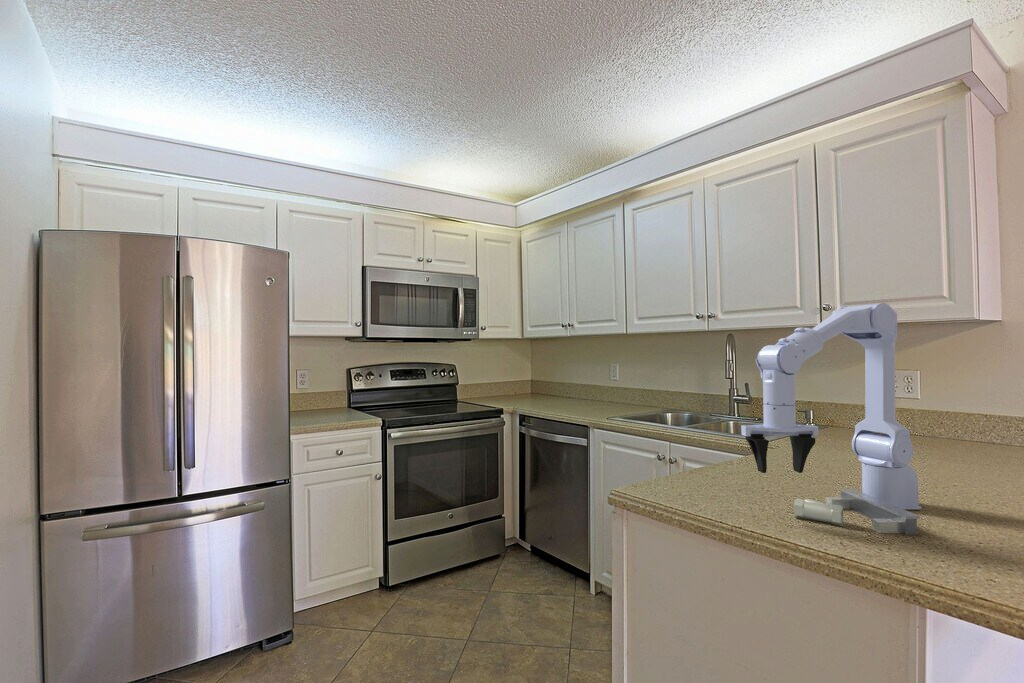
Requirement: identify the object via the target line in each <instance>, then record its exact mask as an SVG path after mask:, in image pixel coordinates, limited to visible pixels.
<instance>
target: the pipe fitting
mask: <svg viewBox="0 0 1024 683" xmlns="http://www.w3.org/2000/svg"><path fill="white" fill-rule="evenodd" d="M793 516H794V517H795V518H797V519H802V520H805V519H806V520H812V521H817V522H824V523H827V524H832V525H835V526H840V527H842V526H843V524H844V509H843V507H842V506H839V505H833V506H830V505H826V503H823V502H821V501H817V500H814V499H811V498H805V499H801V498H795V499H794V503H793Z"/></svg>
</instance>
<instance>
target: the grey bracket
mask: <svg viewBox="0 0 1024 683" xmlns="http://www.w3.org/2000/svg"><path fill="white" fill-rule="evenodd" d="M825 504H826V505H830V506H833V505H839V506H842V507H843V510H852V511H854V512H856V513H857V514H860V515H862V516H864V517H867V519H870V520H871V528H872V529H871V530H872V531H874V532H877V533H878V534H902V535H904V536H917V535H918V522H917V520H920V519H921V516H920V515H918V514H916V513H914V512H911V511H910V510H907V509H902V508H899V507H897V506H894V505H892V504H889V503H887V502H884V501H882V500H880V499H877V498H875V497H872V496H870V495H867V494H865V493H862V491H860V490H857V489H855V488H840V496H826V497H825Z"/></svg>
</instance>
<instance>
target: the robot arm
mask: <svg viewBox="0 0 1024 683" xmlns="http://www.w3.org/2000/svg"><path fill="white" fill-rule="evenodd" d="M840 334H842V335H843V336H845V337H847V338H848V339H850V340H852V341H855V342H856V343H857V342H858V343H859V344H860V345H861V346H862V347H863V348H864V356H865V357H864V360H865V361H864V362H865V365H864V367H865V370H864V371H865V372H864V373H865V374H864V375H865V377H864V380H865V382H864V383H865V384H864V385H865V386H864V387H865V388H864V390H865V392H864V393H865V394H864V395H865V401H864V402H865V403H864V404H865V406H864V407H865V409H864V410H865V418H864V419H862V420H861V421H860V422H858V423H856V424H855V425H854V434H853V437H852V439H851V447H852V451H853V453H854V455H855V456H856V457H857V458H858V459H857V460H858V461H859V462H861V488H862V489H861V492H862V493H865V494H867V495H870V496H872V497H875V498H877V499H880V500H882V501H884V502H887V503H889V504H892V505H894V506H897V507H899V508H902V509H904V510H922V509H923V508H922V507H921V506H919V479H918V474H917V473H916V470H915V469H914V468H913V467H912V466H911V465H909V463H910V462H911V461H912V459H913V456H914V446H913V444H912V440H911V437H910V436H911V435H910V434H911V431H910V430H909V429H908V428H907V427H905V426H904V425H902V424H901V423H900V422H898V421H897V419H896V341H898V313H897V312H896V311H895V310H894V309H893V307H891V305H890V304H888V303H887V302H881V303H880V302H879V303H875V304H874V303H873V304H863V305H853V306H844V305H843V306H841V307H839V308H838V309H837V308H836V309H835V310H833V311H832V313H831V315H829V316H828V317H827V318H825V319H824V320H822V321H821V322H819V323H818V324H817V325H815V326H814V327H812V328H810V327H802V326H801V327H797V328H795V329H794V330H793V333H792V334H790V335H788V336H786V337H785V338H784V337H783V338H779V339H778V340H777V341H778V342H776V344H774V345H773V344H768V345H765V346H763V347H762V348H761V349H760V350H759V352H758V354H757V358H755V363H756V366H757V369H758V370H759V372H760V378H761V381H762V399H763V401H762V402H763V404H762V405H763V409H762V412H763V424H747V425H744V424H743V425H740V426H741V427H740V429H741V430H740V431H741V432H740V433H741V434H740V435H742V436H744V437H745V440H746V442H747V444H748V445H749V448H750V449H751V451H752V454H753V456H754V459H755V463H756V468H757V471H758V472H760V473H762V474H766V473H767V469H768V467H767V466H768V464H767V463H768V462H767V456H768V448H769V444H770V441H769V440H768V439H766V438H765V436H766V437H767V436H768V437H771V436H773V437H774V436H776V437H777V436H779V437H780V436H781V437H782V436H784V437H785V436H787V437H789V439H790V443H791V449H792V450H791V451H792V467H793V471H794V472H796V473H799V474H803V472H804V468H805V464H806V461H807V458H808V456H809V454H810V452H811V450H812V448H813V447H814V446H815V444H816V438H815V437H819V426H816V425H813V424H808V425H807V424H796V418H797V417H796V373H799V371H800V369H801V368H802V366H803V363H804V362H805V361H807V360H808V359H810V358H811V357H812V356H814V355H816V354H817V353H819V352H820V351H822V350H823V347H824V343H825V342H827V341H829V340H831V339H833V338H835V337H836V336H838V335H840Z"/></svg>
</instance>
